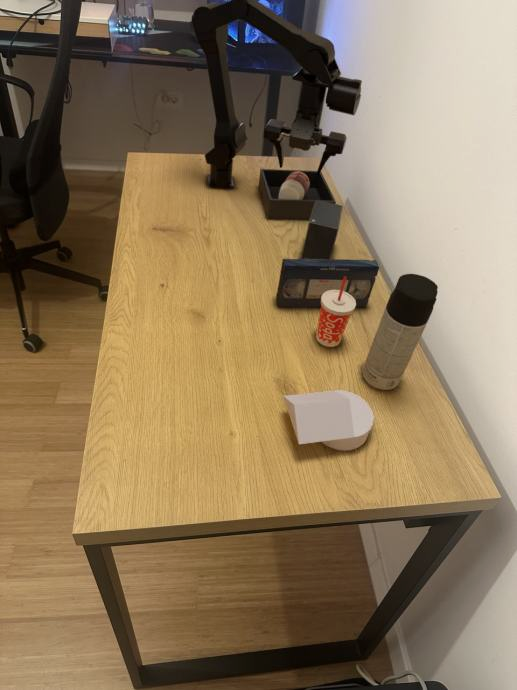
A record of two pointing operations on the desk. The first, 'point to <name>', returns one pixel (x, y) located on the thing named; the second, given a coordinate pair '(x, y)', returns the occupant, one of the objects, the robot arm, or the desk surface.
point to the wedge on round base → (330, 418)
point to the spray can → (399, 330)
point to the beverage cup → (334, 315)
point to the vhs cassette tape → (324, 280)
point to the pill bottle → (294, 186)
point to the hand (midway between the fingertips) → (299, 171)
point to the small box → (322, 230)
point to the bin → (289, 207)
